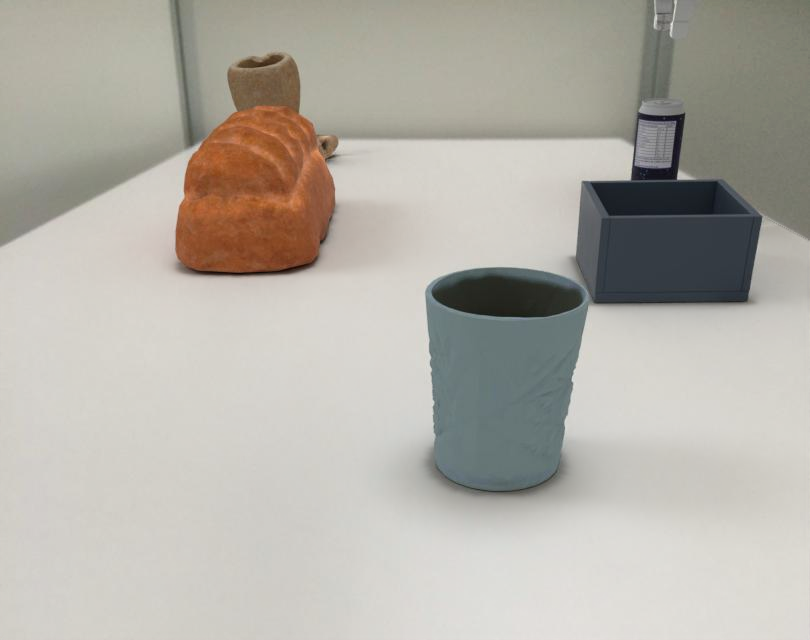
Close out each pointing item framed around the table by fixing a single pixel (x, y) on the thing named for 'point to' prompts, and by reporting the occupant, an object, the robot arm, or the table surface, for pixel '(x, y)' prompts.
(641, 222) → the bin
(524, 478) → the teal cup
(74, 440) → the table surface
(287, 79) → the stone cup
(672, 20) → the robot arm
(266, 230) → the bread
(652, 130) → the beverage can
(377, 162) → the table surface
